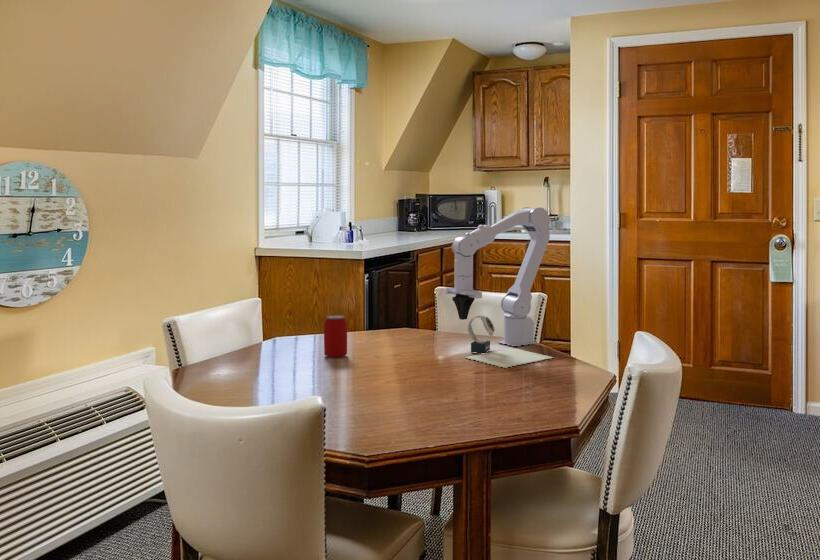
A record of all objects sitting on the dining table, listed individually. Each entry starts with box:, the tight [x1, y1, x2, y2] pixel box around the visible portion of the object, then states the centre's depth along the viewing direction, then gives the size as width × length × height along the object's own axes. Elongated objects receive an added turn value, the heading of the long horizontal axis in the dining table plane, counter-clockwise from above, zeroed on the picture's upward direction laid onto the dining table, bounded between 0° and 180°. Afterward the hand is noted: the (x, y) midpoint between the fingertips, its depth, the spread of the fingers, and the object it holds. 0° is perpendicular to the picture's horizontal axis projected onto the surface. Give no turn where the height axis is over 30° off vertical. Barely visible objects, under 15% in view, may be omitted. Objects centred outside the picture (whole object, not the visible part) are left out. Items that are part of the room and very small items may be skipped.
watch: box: [467, 315, 495, 353], centre depth 223 cm, size 6×8×11 cm
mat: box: [465, 348, 554, 369], centre depth 214 cm, size 20×16×1 cm
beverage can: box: [323, 314, 348, 359], centre depth 217 cm, size 7×7×12 cm
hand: (463, 319), depth 229 cm, fingers closed
